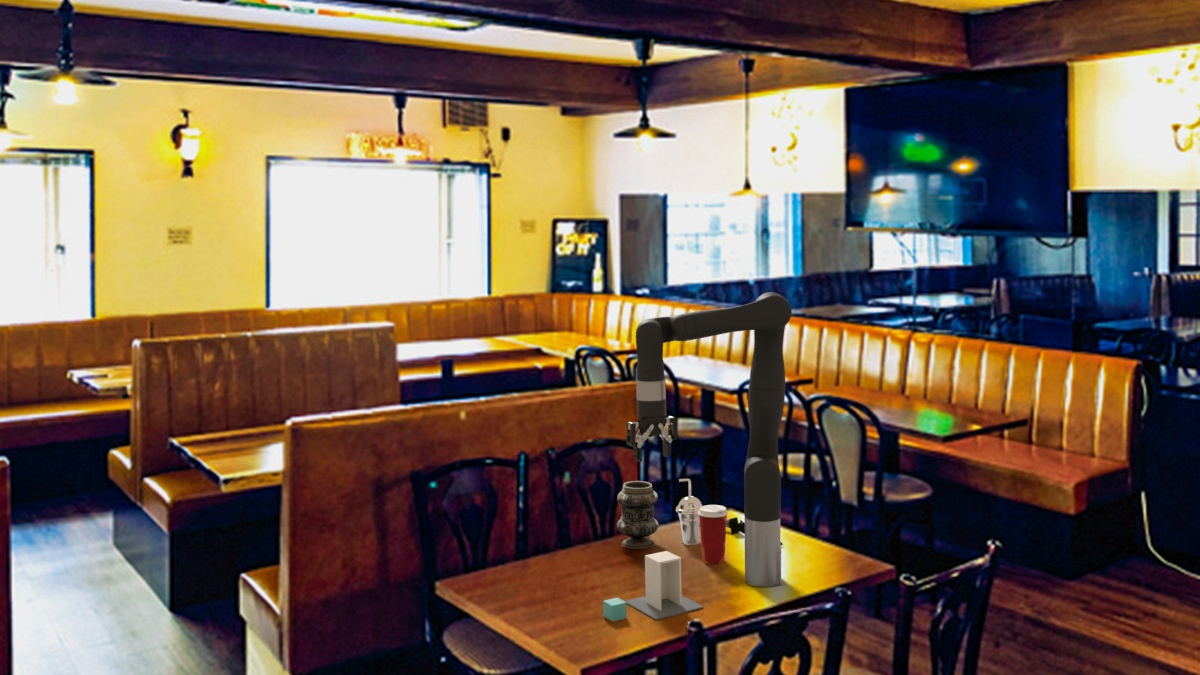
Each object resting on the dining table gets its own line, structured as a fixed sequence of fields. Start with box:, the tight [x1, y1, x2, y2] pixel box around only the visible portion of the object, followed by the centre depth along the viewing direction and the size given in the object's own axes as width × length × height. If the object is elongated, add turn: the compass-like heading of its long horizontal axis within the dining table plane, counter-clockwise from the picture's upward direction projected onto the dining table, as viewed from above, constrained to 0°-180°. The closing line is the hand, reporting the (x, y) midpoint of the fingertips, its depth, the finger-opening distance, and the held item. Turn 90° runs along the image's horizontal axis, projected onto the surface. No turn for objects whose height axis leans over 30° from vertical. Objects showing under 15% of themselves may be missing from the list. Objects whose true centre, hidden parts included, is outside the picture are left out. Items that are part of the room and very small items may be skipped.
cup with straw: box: [675, 478, 703, 546], centre depth 314 cm, size 8×9×20 cm
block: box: [602, 597, 627, 622], centre depth 259 cm, size 4×4×4 cm
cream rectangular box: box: [644, 550, 683, 610], centre depth 265 cm, size 6×6×12 cm
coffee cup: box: [698, 504, 729, 565], centre depth 298 cm, size 8×8×15 cm
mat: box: [624, 595, 704, 621], centre depth 266 cm, size 14×14×1 cm
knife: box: [726, 516, 784, 546], centre depth 321 cm, size 31×3×4 cm, turn 37°
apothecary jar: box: [616, 480, 659, 550], centre depth 314 cm, size 12×12×18 cm
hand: (652, 459), depth 279 cm, fingers open, 8 cm apart
